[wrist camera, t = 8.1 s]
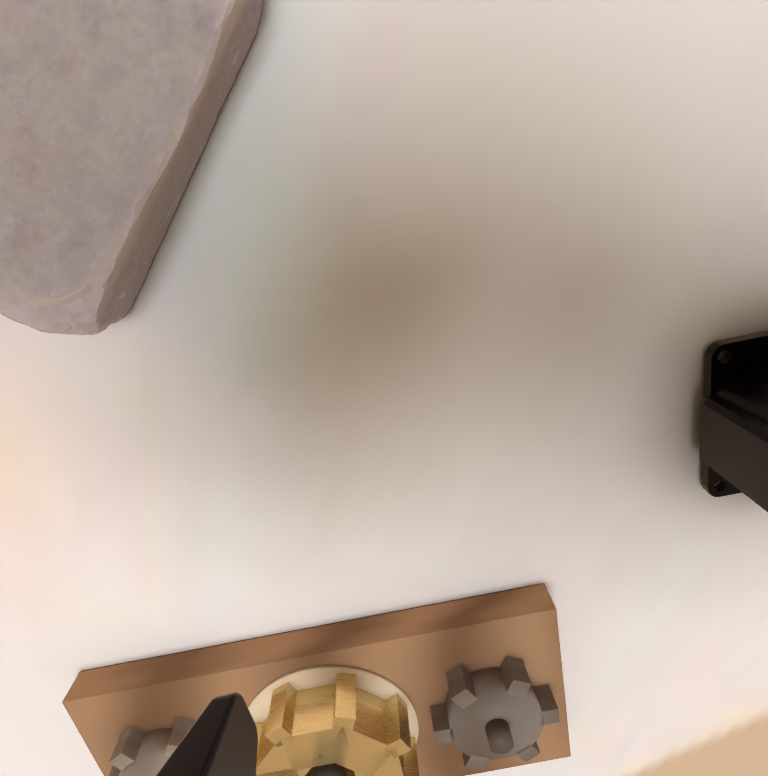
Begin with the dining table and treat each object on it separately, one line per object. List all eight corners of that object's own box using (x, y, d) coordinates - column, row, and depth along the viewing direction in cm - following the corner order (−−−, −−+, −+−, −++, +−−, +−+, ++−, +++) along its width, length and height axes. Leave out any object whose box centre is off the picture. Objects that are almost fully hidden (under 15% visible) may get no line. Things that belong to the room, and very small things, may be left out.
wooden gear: (396, 661, 22) (399, 705, 20) (424, 774, 24) (430, 822, 23) (229, 692, 22) (217, 739, 20) (274, 801, 25) (267, 852, 23)
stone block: (-102, 197, 18) (146, 345, 18) (-289, 171, 14) (46, 370, 14) (11, -174, 15) (304, 6, 16) (-176, -367, 11) (245, -106, 11)
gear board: (544, 583, 23) (597, 696, 18) (559, 725, 26) (608, 856, 21) (79, 671, 23) (1, 806, 18) (149, 801, 27) (99, 947, 21)
